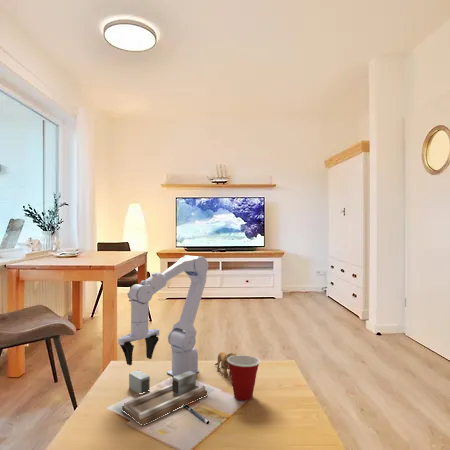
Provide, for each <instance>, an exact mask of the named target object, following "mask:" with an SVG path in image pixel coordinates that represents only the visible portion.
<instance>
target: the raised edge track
mask: <svg viewBox="0 0 450 450" xmlns="http://www.w3.org/2000/svg"><path fill="white" fill-rule="evenodd" d="M196 375H197V373H194V372H192V371H187V372H185V373H182V374H180V375H177V376H172V383H171V384H169V385H166V386H164V387H161V388H159V389H156V390H154V391H151V392H147V394H146V393H145V394H142V395H141V396H138V397H136V398H134V399H131V400H128V401H126V402H124V403H123V405H122V406H121V411H122V410H123V411H125V412H126V413H127V414H129V415H130V416H131V417H133V418H134V419H135V420H136V421H137V422H139V423H140V424H142V425H144V424H146V423H149V422H151V421H153V420H155V419H157V418H159V417H161V416H163V415H165V414H167V413H169V412H172V411H173V410H175V409H177V408H179V407H181V406H182V405H183V404H188V403H190V402H192V401H195V400H197V399H199V398H201V397H204V396H206V395H207V396H208V390H206V386H205V385H201V386H198V385H196V384H197V383H196V382H197V381H196V379H197V376H196ZM207 396H206V397H207ZM204 398H205V397H204ZM197 401H198V400H197ZM195 402H196V401H195ZM172 413H173V412H172ZM159 419H160V418H159ZM157 420H158V419H157ZM136 421H135V422H136ZM155 421H156V420H155ZM137 422H136V423H137ZM153 422H154V421H153ZM139 423H138V424H139ZM151 423H152V422H151ZM140 424H139V425H140ZM149 424H150V423H149Z"/></svg>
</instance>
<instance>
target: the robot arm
mask: <svg viewBox="0 0 450 450" xmlns="http://www.w3.org/2000/svg"><path fill="white" fill-rule="evenodd" d="M209 266H210V264H209V262H208V260H207V259H206V257H205V256H203V255H200V256H196V255H189V254H185V255H184V256H182V257H180V258H179V259H178V261H176V262H174V263H173V264H172V265H171V266H170V267H168V268H167V269H165V270H164V271H162V272H153V273H151V276H149V277H147V278H146V279H145V280H141V281H140V283H139V284H137V283H135V284H133V285H131V286H130V288H129V290H128V292H127V298H128V299H129V300H130V333H129V334H125V335H124V336H120V337H118V340H117V341H118V342H117V343H118V345H119V346H120V348H121V350H122V352H123V354H124V357H125V361H126V364H127V366H132V365H133V353H134V348H135V345H134V344H132V342H135V341H140V340H142V339H145V340H144V341H145V346H146V349H145V350H146V351H145V352H146V354H145V355H146V358H147V359H149V360H152V359H153V354H154V350H155V348H156V346H157V343H158V342H159V340H160V339H159V336H160V329H158V328H153V329H149V315H150V314H149V313H150V312H149V307H150V305H149V303H150V301H152V297H153V296H154V294H156V293H158V292H159V291H160V290H162V289H163V288H165V287H166V286H167V283H168V281H169V280H171V279H173V278H175V277H176V276H178V275H180V274H181V273H183V272H184V273H185V274H186V275H187V276H188V278H189V280H190V285H189V287H188V288H189V289H188V291H187V295H186V299H185V301H184V304H183V308H182V311H181V314H180V316H179V321H177V322H176V323H174V324H173V326H172V328H171V330H170V332H169V334H168V336H167V342H168V344H169V345H170V349H171V369H170V370H168V371H166V374H168V375H170V376H172V377H174V376H177V375H180V374H182V373H185V372H187V371H192V372H194V373H196V374H197V373H199V372H200V370H199V367H198V363H199V360H198V359H199V357H198V351H197V348H196V347H195V345H196V342H197V340H196V336H197V330H196V328H195V326H194V323H195V321H196V317H197V313H198V309H199V307H200V303H201V299H202V296H203V293H204V291H205V286H206V283H207V273H208V271H209V270H208V269H209Z"/></svg>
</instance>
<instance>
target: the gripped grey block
mask: <svg viewBox="0 0 450 450" xmlns="http://www.w3.org/2000/svg"><path fill="white" fill-rule="evenodd" d="M150 380H151V379H150V375H148V374H147V373H144V372H142V371H140V369H139V370H135V371H132V372H129V375H128V388H129V389H130V390H131V391H133V392H135V393H137V394H138V393H143V392H146V391H148V390H150V389H151V388H150V387H151V386H150V385H151V383H150V382H151V381H150ZM150 391H151V390H150ZM146 393H147V392H146Z"/></svg>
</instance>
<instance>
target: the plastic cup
mask: <svg viewBox="0 0 450 450" xmlns="http://www.w3.org/2000/svg"><path fill="white" fill-rule="evenodd" d="M227 361H228V363H229V368H230V370H229V371H230V373H231V376H230V379H231V385H232V391H233V392H232V393H233V396H234V399H235V400H237V399H238V401H241V400H243V401H244V402H245V401H250V400H252V398H253V395H254V390H255V385H256V380H257V373H258V368H259V366H260V363H261V360H260V358H258V357H256V356H252V355H243V354H242V355H241V354H240V355H239V354H238V355H237V354H236V356H231V357H228V358H227ZM243 401H242V402H243Z"/></svg>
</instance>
